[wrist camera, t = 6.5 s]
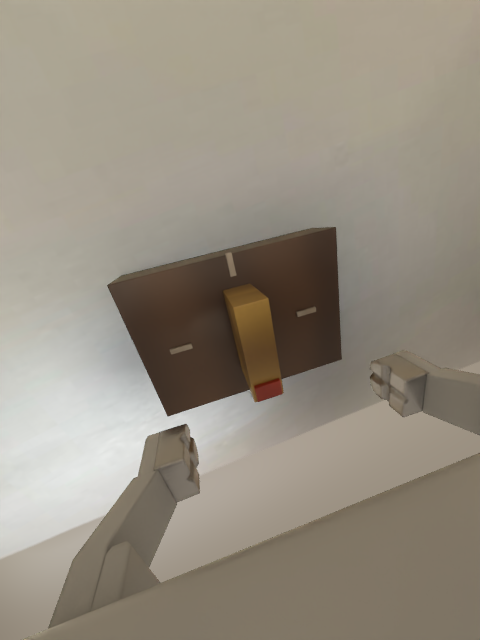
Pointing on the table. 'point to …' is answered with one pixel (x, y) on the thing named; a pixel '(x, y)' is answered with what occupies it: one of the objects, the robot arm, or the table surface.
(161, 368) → the plate
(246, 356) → the thumb turn
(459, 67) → the table surface
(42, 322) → the table surface
